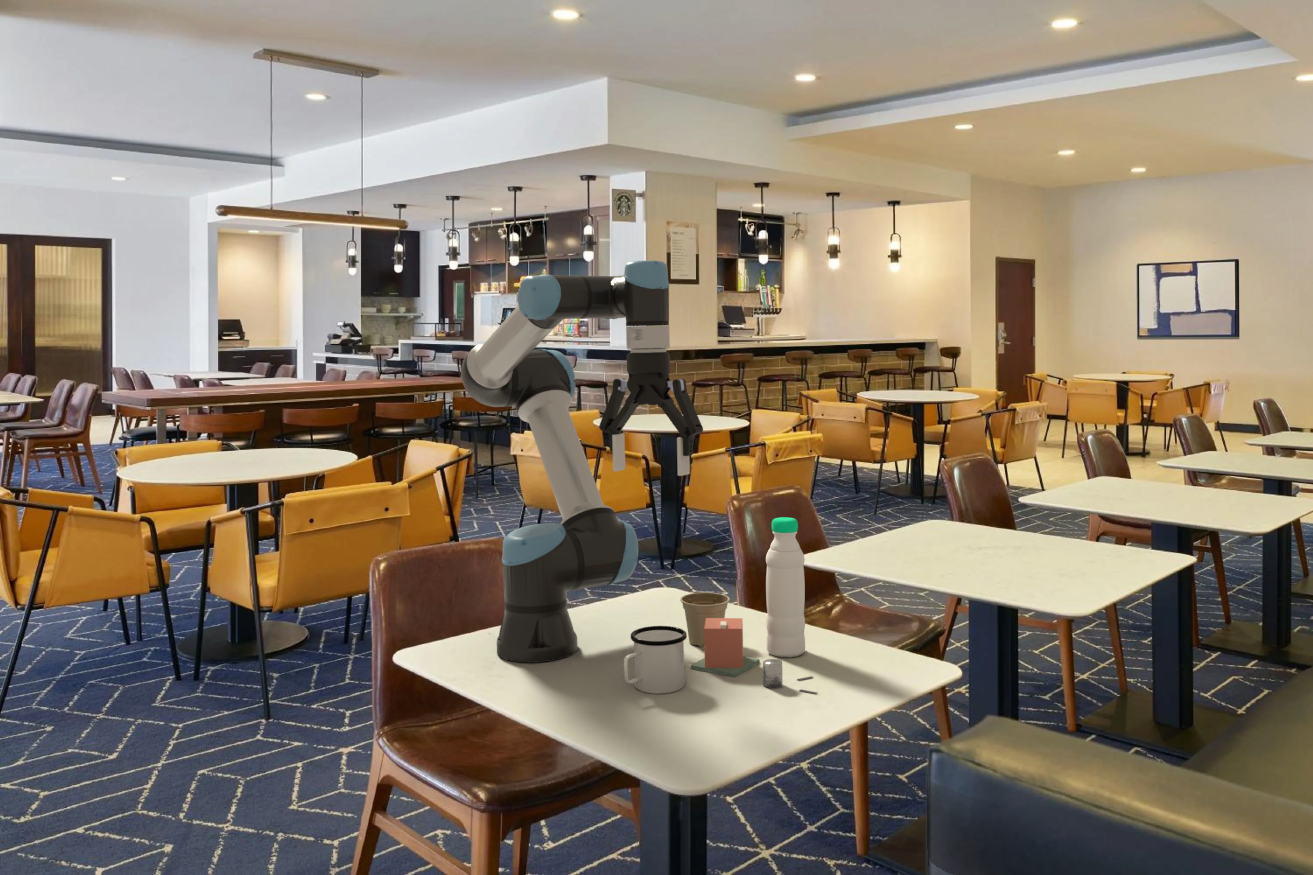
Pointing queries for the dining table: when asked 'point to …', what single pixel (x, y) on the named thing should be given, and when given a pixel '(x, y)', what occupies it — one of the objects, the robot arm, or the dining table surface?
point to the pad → (733, 672)
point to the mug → (657, 659)
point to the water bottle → (785, 591)
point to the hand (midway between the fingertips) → (650, 472)
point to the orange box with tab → (723, 642)
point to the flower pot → (702, 612)
